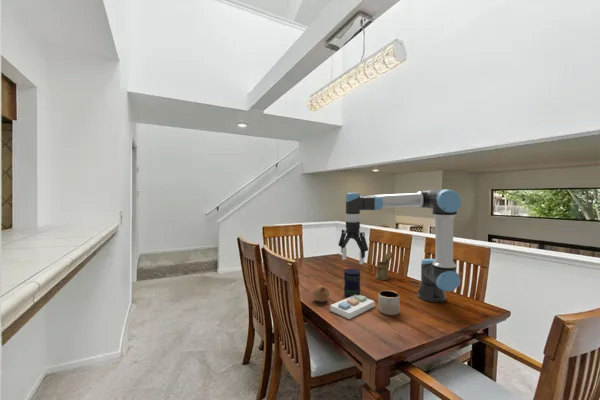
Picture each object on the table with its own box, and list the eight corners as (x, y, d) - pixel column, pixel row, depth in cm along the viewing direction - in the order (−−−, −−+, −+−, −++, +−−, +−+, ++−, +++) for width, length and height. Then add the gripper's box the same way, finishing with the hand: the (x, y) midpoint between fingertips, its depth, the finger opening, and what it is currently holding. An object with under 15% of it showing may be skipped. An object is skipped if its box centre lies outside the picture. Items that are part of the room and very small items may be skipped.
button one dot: (350, 310, 150) (350, 303, 149) (345, 312, 147) (345, 306, 146) (343, 307, 153) (343, 301, 153) (338, 309, 150) (338, 303, 150)
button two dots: (366, 302, 159) (366, 296, 159) (361, 305, 156) (361, 299, 156) (359, 300, 162) (359, 294, 162) (354, 302, 159) (354, 296, 159)
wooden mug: (395, 277, 204) (395, 253, 203) (381, 280, 198) (381, 255, 197) (386, 274, 212) (386, 250, 211) (372, 277, 206) (372, 252, 205)
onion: (324, 308, 162) (327, 296, 157) (309, 302, 165) (312, 289, 160) (329, 296, 170) (332, 284, 165) (314, 291, 173) (317, 279, 168)
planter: (396, 318, 143) (397, 299, 143) (375, 313, 149) (375, 295, 148) (401, 309, 152) (401, 292, 152) (381, 305, 158) (381, 288, 158)
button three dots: (358, 306, 154) (358, 300, 154) (353, 308, 151) (353, 302, 151) (352, 303, 158) (352, 297, 157) (346, 306, 155) (346, 300, 154)
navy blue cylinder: (340, 295, 173) (340, 271, 172) (349, 290, 180) (349, 267, 179) (354, 299, 166) (354, 274, 165) (363, 294, 173) (363, 270, 172)
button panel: (374, 306, 157) (374, 301, 157) (349, 319, 142) (349, 313, 142) (355, 299, 167) (355, 294, 166) (330, 310, 152) (330, 305, 152)
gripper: (375, 222, 145) (375, 264, 147) (340, 218, 163) (340, 256, 164) (366, 224, 141) (366, 267, 142) (331, 220, 158) (332, 258, 160)
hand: (352, 261), depth 153 cm, fingers open, 11 cm apart
